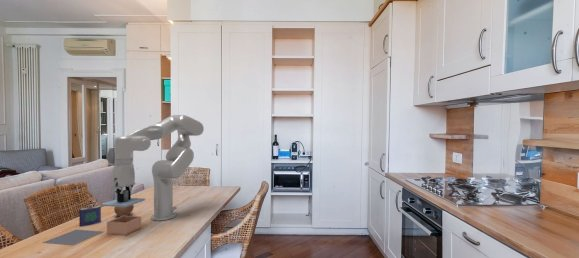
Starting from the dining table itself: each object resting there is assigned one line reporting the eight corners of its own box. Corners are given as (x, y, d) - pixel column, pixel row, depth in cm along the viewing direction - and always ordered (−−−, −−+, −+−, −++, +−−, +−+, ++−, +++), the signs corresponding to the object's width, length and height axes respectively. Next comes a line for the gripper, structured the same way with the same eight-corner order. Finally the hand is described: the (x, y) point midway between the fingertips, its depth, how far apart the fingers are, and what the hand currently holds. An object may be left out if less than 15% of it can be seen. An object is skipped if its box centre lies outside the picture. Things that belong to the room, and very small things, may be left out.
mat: (76, 230, 137) (76, 229, 137) (104, 232, 134) (104, 231, 134) (41, 244, 121) (41, 242, 121) (73, 246, 118) (73, 245, 118)
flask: (100, 222, 149) (100, 202, 149) (101, 223, 147) (101, 203, 147) (78, 226, 142) (78, 205, 142) (80, 228, 140) (80, 206, 140)
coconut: (119, 223, 157) (112, 209, 152) (116, 214, 164) (109, 201, 159) (137, 214, 162) (131, 200, 157) (134, 206, 169) (127, 193, 164)
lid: (122, 199, 143) (122, 187, 143) (145, 200, 140) (145, 188, 140) (100, 205, 130) (100, 193, 130) (125, 207, 128) (125, 194, 128)
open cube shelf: (123, 227, 141) (123, 215, 141) (140, 228, 140) (140, 216, 139) (106, 234, 131) (106, 221, 131) (125, 236, 130) (125, 223, 130)
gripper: (129, 160, 144) (129, 196, 144) (102, 164, 128) (102, 204, 128) (143, 160, 143) (142, 197, 143) (117, 164, 126) (117, 205, 126)
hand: (123, 200), depth 135 cm, fingers closed on lid, 3 cm apart
